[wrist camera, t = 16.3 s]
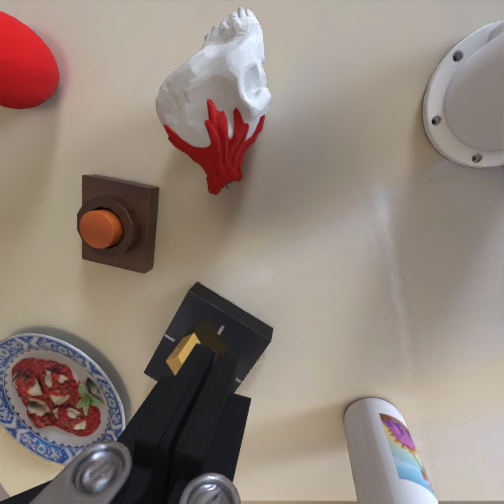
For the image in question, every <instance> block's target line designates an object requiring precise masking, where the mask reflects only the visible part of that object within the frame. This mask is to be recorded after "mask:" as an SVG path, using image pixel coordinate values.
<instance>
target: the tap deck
mask: <svg viewBox="0 0 504 504" xmlns="http://www.w3.org/2000/svg"><path fill="white" fill-rule="evenodd" d="M192 333H195V335H196V337H197V338H198V340H199V342H200V343H201V344H203V345H207V346H210V347H211V351H213V352H215V359H214V363H215V361H216V359H217V357H218V354H219V353H221V354H224V353H225V351H230V352H233V353H237V354H240V359H239V364H238V370H237V375H236V380H235V386H234V391H233V393H234V392H235V391H236V389H237V388H238V387H239V385H240V384H241V382H242V381H243V380H244V378H245V377H246V375H247V374H248V373H249V371H250V370H251V368H252V367H253V366H254V364H255V363H256V361H257V360H258V359H259V357H260V356H261V354H262V353H263V352H264V350H265V349H266V347H267V346H268V345H269V343H270V342H271V339H272V333H273V328H272V327H270V326H268V325H267V324H265V323H263V322H262V321H260V320H258V319H257V318H255V317H254V316H252V315H250V314H249V313H247V312H245V311H244V310H242V309H241V308H239V307H237V306H236V305H234V304H232V303H231V302H229V301H227V300H226V299H224V298H223V297H221V296H219V295H218V294H216V293H214V292H213V291H211V290H210V289H208V288H206V287H205V286H203V285H201V284H200V283H198V282H197V283H196V284H195V285H194V286H193V287H192V288H191V289H190V290H189V291H188V293H187V295H186V296H185V298H184V300H183V302H182V304H181V306H180V307H179V309H178V311H177V313H176V315H175V316H174V318H173V320H172V322H171V324H170V326H169V327H168V329H167V331H166V333H165V335H164V337H163V338H162V340H161V342H160V344H159V346H158V348H157V349H156V351H155V353H154V355H153V357H152V358H151V360H150V362H149V364H148V366H147V368H146V369H145V371H144V373H145V374H146V375H148V376H150V377H151V378H153V379H154V380H156V381H159V379H160V378H161V377H162V376H163V375H164V374H166V375H169V376H173V377H175V375H174V373H173V372H172V370H171V369H170V367H169V365H168V364H167V362H166V360H167V359H168V357H169V356H170V355H171V353H172V352H173V351H174V349H175V348H176V347H177V345H178V344H179V343H180V341H181V340H182V339H183V337H185V336H188V335H190V334H192Z"/></svg>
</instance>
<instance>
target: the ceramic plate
mask: <svg viewBox="0 0 504 504" xmlns="http://www.w3.org/2000/svg"><path fill="white" fill-rule="evenodd" d="M0 424H1V425H2V426H3V428H4V429H5V430H6V431H7V432H8V433H9V434H10V436H11V437H12V438H13V439H14V440H16V441H17V442H18V443H19V444H20V445H22V446H23V447H24V448H26V449H27V450H29V451H30V452H31V453H33V454H35V455H37V456H39V457H41V458H43V459H45V460H47V461H50V462H53V463H55V464H59V465H64V466H67V465H68V464H69V463H70V462H71V461H72V460H73V459H74V458H75V457H76V456H77V455H78V454H80V453H81V452H82V451H83V450H85V449H86V448H88V447H90V446H92V445H94V444H96V443H99V442H103V441H116V440H117V439H118V438H119V436H120V435H121V433H122V432H123V430H124V429H125V414H124V409H123V405H122V402H121V399H120V397H119V395H118V392H117V390H116V389H115V387H114V385H113V383H112V382H111V380H110V379H109V378H108V376H107V375H106V374H105V372H104V371H103V370H102V369H101V368H100V366H99V365H98V364H97V363H95V362H94V361H93V360H92V359H91V358H90V357H88V356H87V355H86V354H85V353H83V352H82V351H81V350H79V349H77V348H76V347H74V346H73V345H71V344H69V343H67V342H65V341H62V340H60V339H57V338H55V337H51V336H47V335H43V334H35V333H26V334H18V335H14V336H11V337H8V338H6V339H4V340H2V341H1V342H0Z"/></svg>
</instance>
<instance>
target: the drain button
mask: <svg viewBox="0 0 504 504" xmlns="http://www.w3.org/2000/svg"><path fill="white" fill-rule="evenodd" d="M80 232H81V235H82V237H83V239H84V240H85V241H86V242H87V243H88V244H89V245H90V246H92V247H94V248H99V249H102V248H106V247H109V246H112V245H114V244H116V243H118V242H119V241H120V239H121V238H122V235H123V226H122V223H121V221H120V219H119V218H118V216H117V215H116V214H114V213H113V212H111V211H109V210H105V209H102V210H95V211H90V212H87V213H86V214H85V215H84V216H83V217H82V218H81V221H80Z"/></svg>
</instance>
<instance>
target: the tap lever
mask: <svg viewBox="0 0 504 504" xmlns="http://www.w3.org/2000/svg"><path fill="white" fill-rule="evenodd" d="M196 343H199V344H201V343H200V342H199V340H198V338H197V337H196V335H195V333H192V334H190V335H188V336H185V337H183V339H182V340H181V341H180V343H179V344H178V345H177V347H176V348H175V349H174V351H173V352H172V353H171V355H170V356H169V357H168V359H167V360H166V362H167V364H168V365H169V367H170V369H171V370H172V372H173V373H174V375H176V374H177V372H178V371H179V369H180V368H181V366H182V364H183V363H184V361H185V360H186V358H187V357H188V355H189V353H190V352H191V350H192V349H193V347H194V346H195V344H196Z"/></svg>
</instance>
